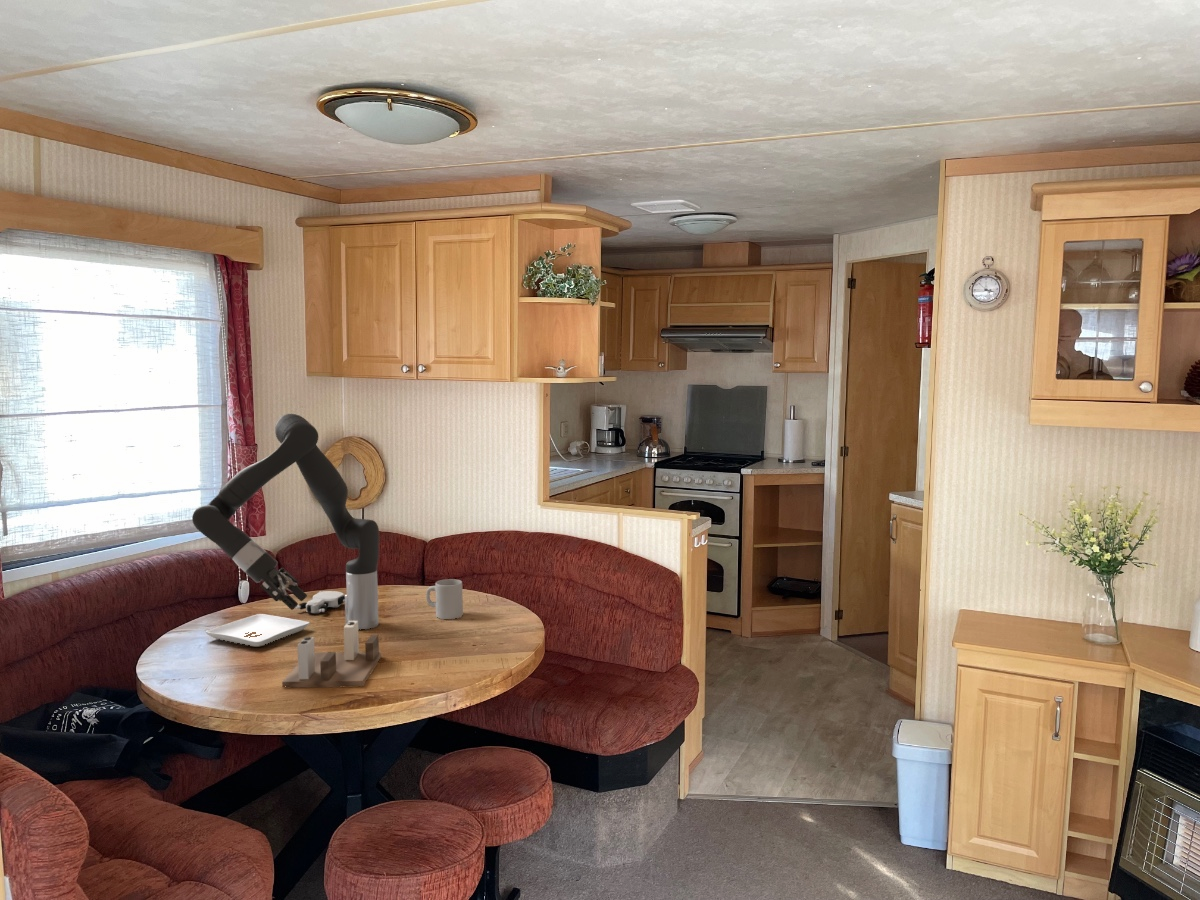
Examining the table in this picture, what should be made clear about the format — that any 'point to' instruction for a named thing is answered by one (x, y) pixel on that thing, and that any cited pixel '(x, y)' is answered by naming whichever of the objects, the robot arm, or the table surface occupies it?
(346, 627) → the tile one
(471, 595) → the table surface
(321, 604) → the robot toy
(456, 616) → the mug
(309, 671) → the tile two
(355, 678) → the brown piece
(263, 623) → the salad plate
